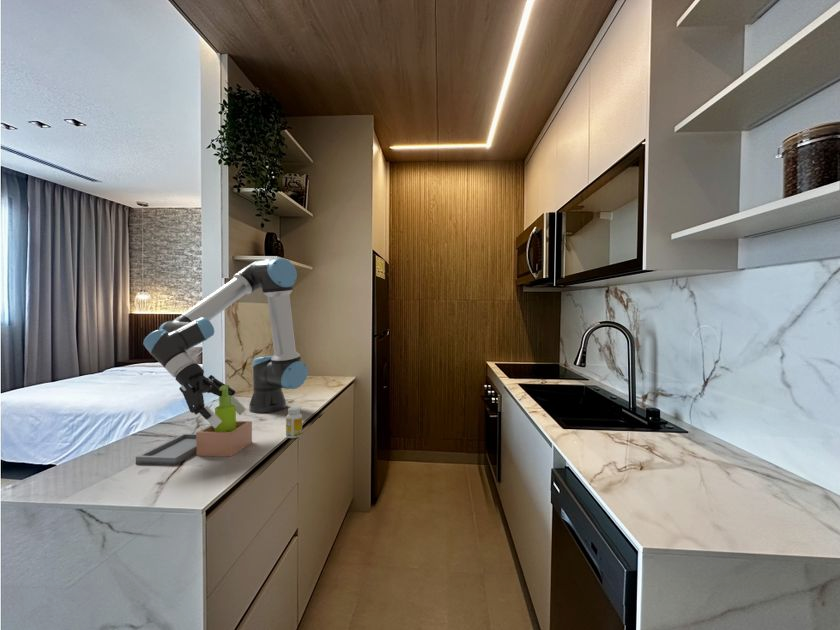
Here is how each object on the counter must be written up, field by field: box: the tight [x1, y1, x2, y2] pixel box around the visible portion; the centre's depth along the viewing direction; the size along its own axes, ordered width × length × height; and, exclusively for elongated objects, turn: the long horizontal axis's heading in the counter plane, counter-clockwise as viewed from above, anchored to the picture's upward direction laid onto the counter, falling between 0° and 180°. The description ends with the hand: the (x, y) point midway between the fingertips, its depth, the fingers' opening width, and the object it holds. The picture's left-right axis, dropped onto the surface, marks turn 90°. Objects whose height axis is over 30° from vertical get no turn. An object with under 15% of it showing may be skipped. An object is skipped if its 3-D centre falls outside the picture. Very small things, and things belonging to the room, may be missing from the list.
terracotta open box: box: [195, 420, 253, 457], centre depth 121 cm, size 12×11×7 cm
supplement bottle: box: [285, 406, 303, 439], centre depth 133 cm, size 5×5×10 cm
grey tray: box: [135, 433, 197, 466], centre depth 119 cm, size 20×12×2 cm, turn 176°
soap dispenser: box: [214, 384, 237, 432], centre depth 121 cm, size 6×7×20 cm
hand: (231, 418), depth 121 cm, fingers open, 13 cm apart
